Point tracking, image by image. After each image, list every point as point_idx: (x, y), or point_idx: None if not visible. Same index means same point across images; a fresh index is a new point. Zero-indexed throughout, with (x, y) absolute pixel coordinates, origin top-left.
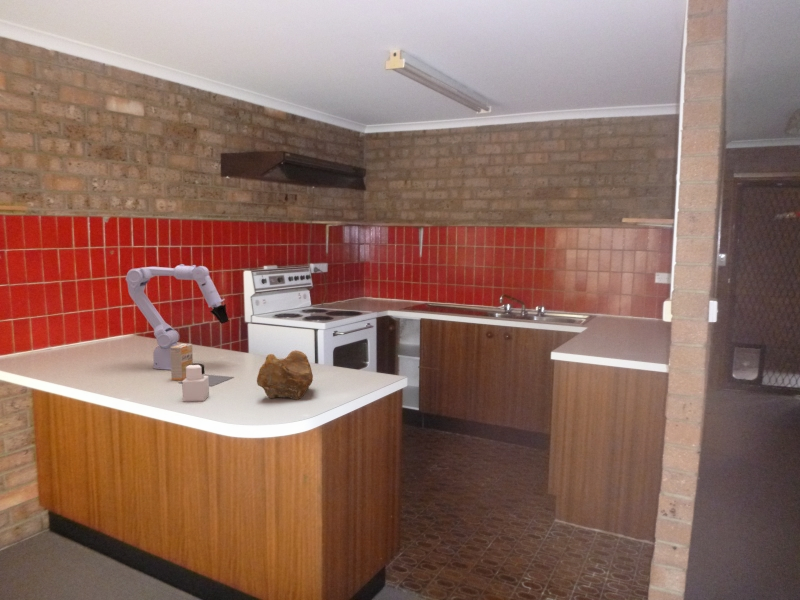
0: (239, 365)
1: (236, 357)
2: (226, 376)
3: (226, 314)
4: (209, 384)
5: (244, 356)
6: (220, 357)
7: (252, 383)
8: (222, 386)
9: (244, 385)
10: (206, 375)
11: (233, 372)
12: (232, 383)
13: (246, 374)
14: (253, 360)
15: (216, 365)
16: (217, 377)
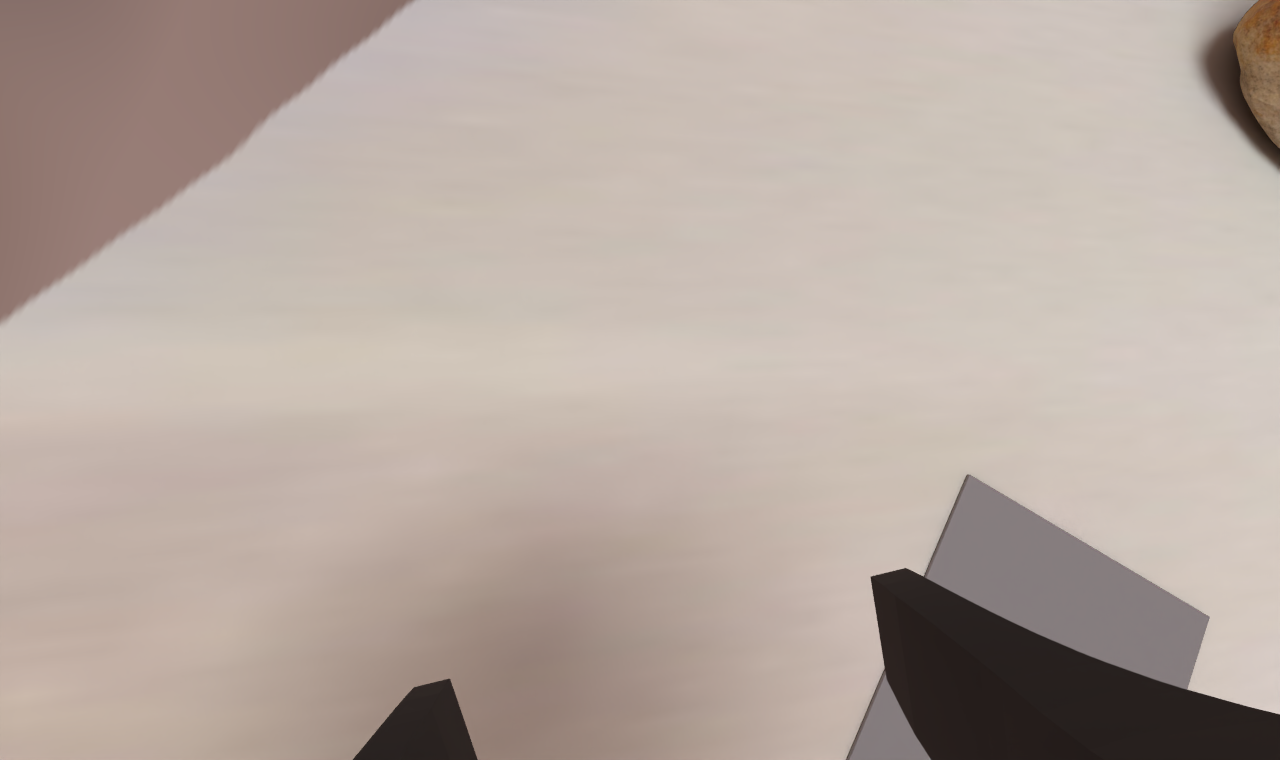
0: (525, 457)
1: (95, 516)
2: (949, 536)
3: (1048, 647)
4: (1172, 643)
5: (66, 429)
6: (27, 710)
7: (1136, 330)
8: (1204, 537)
9: (1183, 383)
10: (897, 720)
11: (795, 492)
12: (1131, 471)
13: (878, 380)
14: (322, 330)
15: (472, 692)
16: None
